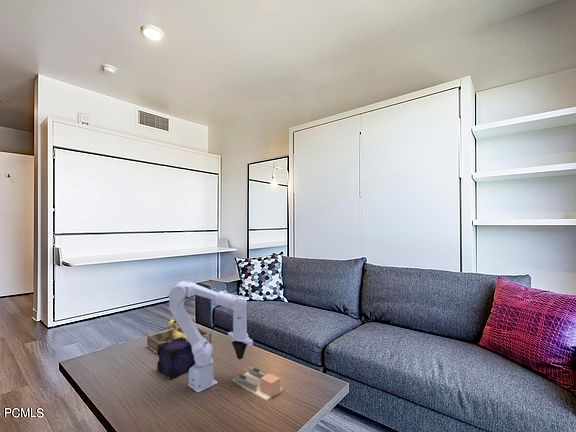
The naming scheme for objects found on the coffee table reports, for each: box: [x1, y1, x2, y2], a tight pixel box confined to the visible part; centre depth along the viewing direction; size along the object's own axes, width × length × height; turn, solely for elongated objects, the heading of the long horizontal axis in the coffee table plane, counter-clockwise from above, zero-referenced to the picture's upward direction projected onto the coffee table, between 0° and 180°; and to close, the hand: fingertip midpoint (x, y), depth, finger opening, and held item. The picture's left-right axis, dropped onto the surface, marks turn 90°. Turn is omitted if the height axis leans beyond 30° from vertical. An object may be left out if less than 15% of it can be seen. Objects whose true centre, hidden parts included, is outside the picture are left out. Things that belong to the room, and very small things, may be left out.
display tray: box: [146, 326, 212, 352], centre depth 163 cm, size 25×23×6 cm
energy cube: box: [156, 337, 195, 380], centre depth 137 cm, size 12×12×12 cm
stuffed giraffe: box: [166, 317, 188, 343], centre depth 163 cm, size 16×18×16 cm
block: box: [261, 373, 281, 398], centre depth 118 cm, size 5×6×5 cm
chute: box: [231, 366, 285, 402], centre depth 123 cm, size 10×21×4 cm, turn 48°
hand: (240, 358), depth 126 cm, fingers closed
